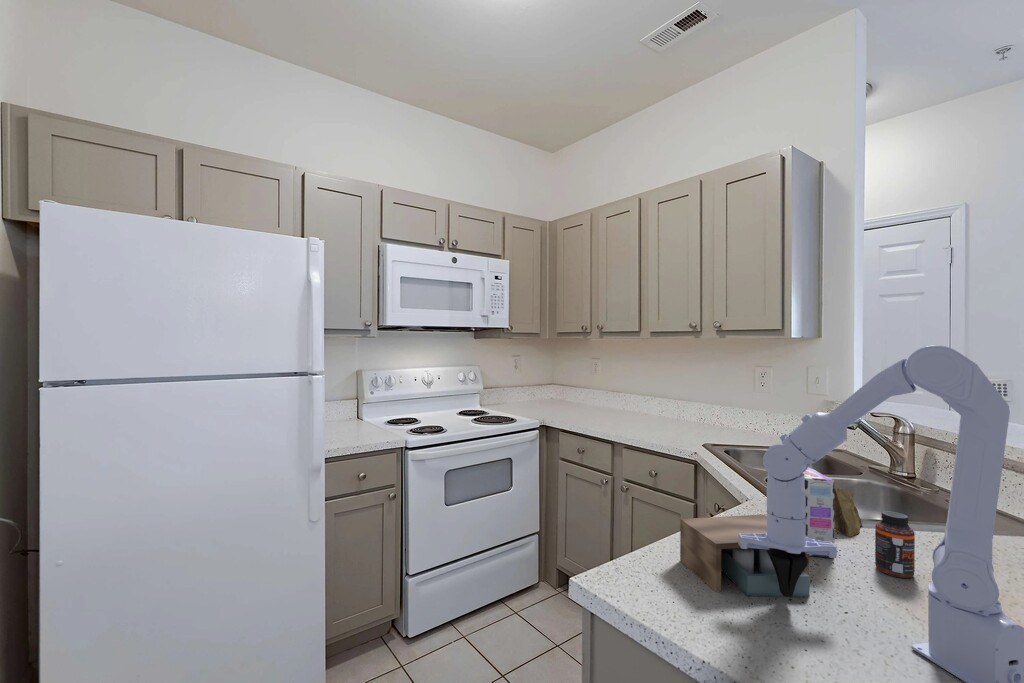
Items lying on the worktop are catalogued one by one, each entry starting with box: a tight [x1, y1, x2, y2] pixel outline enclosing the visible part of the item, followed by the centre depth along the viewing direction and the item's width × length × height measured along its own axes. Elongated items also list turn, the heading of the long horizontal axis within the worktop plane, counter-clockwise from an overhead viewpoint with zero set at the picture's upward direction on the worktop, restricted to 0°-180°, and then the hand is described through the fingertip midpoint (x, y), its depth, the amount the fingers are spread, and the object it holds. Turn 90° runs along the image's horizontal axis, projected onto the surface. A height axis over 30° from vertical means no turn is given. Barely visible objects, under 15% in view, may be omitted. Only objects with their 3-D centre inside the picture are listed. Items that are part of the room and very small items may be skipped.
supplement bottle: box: [874, 510, 916, 579], centre depth 89 cm, size 6×6×11 cm
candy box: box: [803, 466, 835, 559], centre depth 102 cm, size 14×6×16 cm, turn 168°
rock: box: [834, 487, 863, 538], centre depth 111 cm, size 11×9×10 cm
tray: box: [721, 548, 810, 597], centre depth 86 cm, size 12×11×5 cm
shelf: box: [679, 513, 810, 593], centre depth 89 cm, size 12×19×8 cm, turn 100°
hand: (786, 594), depth 78 cm, fingers closed
